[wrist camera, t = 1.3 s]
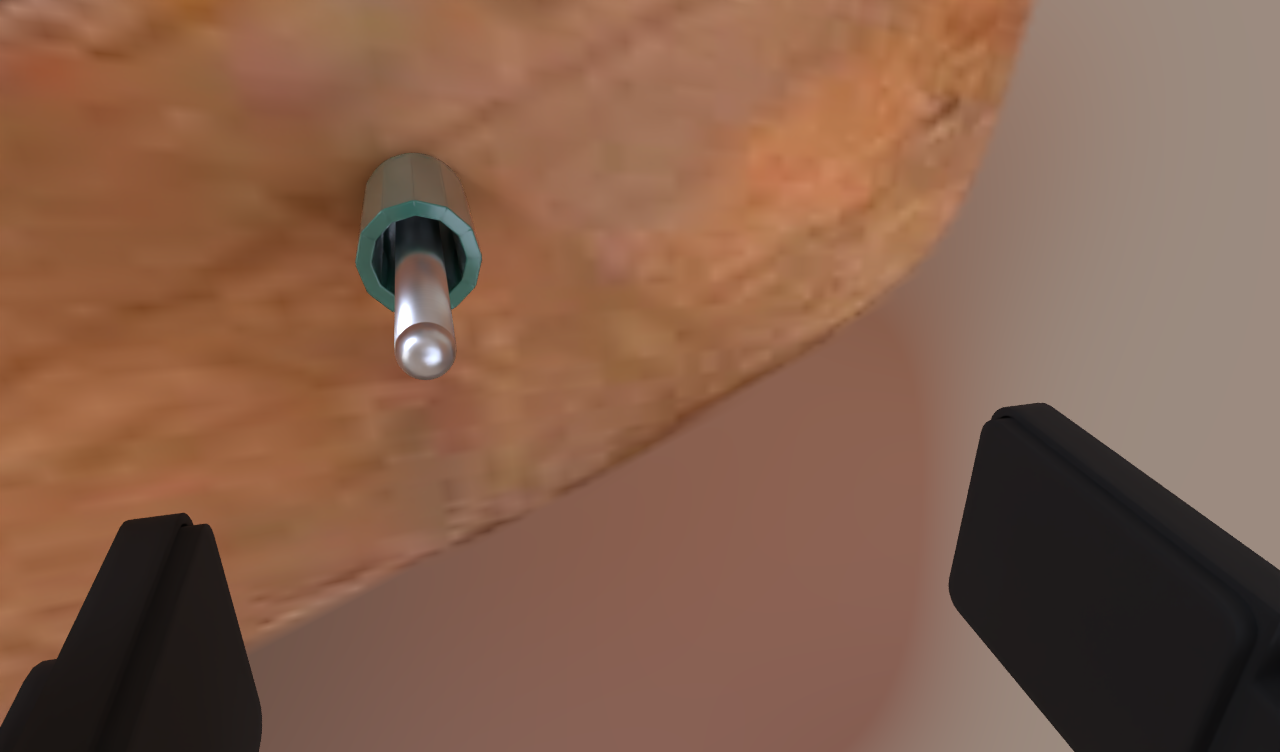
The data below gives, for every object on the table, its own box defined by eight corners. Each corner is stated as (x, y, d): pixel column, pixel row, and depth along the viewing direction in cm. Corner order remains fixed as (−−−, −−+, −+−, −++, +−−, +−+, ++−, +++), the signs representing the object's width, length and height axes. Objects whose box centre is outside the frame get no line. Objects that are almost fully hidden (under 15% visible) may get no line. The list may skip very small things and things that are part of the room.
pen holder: (357, 238, 33) (348, 305, 27) (373, 141, 32) (366, 190, 26) (455, 257, 34) (467, 325, 28) (475, 165, 33) (491, 216, 27)
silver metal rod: (392, 220, 33) (389, 385, 21) (399, 182, 32) (399, 329, 20) (432, 228, 33) (451, 394, 21) (439, 190, 33) (464, 339, 20)
